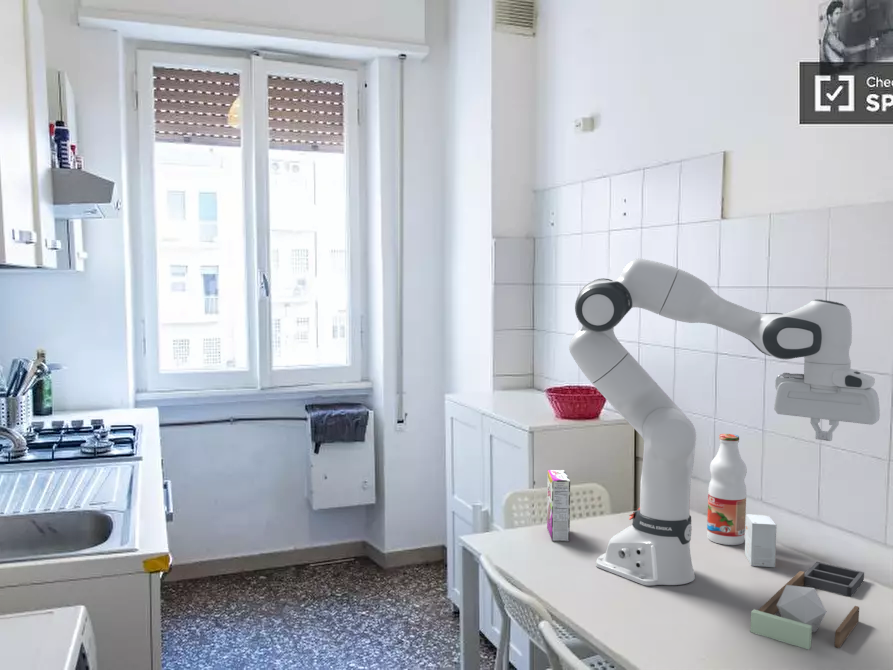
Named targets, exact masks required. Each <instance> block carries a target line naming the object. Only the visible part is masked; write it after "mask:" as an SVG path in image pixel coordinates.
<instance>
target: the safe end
mask: <svg viewBox="0 0 893 670" xmlns="http://www.w3.org/2000/svg"><path fill="white" fill-rule="evenodd" d="M758 610H759V609H753V610H751V611H750V631H749V632H750V633H753V634H756V635H759V636H763V637H765V638H769V639H773V640H775V641H780V642H781V643H782V642H783V643H785V644H789V645H793V646H795V647H799V648H802V649H806V650H810V649H811V647H812V633H813V632H812V626H811V625H808V624H804V623H801V622H797V621H793V620H790V619H786V618H783V617H782V616H778V615H776V614H775V615H772V614H769V613H765V612H762V611H758Z"/></svg>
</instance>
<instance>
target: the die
mask: <svg viewBox="0 0 893 670" xmlns="http://www.w3.org/2000/svg"><path fill="white" fill-rule="evenodd" d="M777 608H778V610H779V611H778V613H779V614H780V617H783V618H786V619H790V620H793V621H797V622H801V623H804V624H808V625H811V626H812V633H817V632H818V631H817V630H818V629H819V627H820V625H821V623H822V622H823V620H824V617H825V616H826V613H827V610H826V608H825V606H824V604H823V601H822V600H821V598H820V596H819V594H818V592H817V590H816V588H814V587H810V586H803V587H800V586H792V585H786V587H785V589H784V591H783V593H782V595H781V597H780V599H779V601H778V603H777Z"/></svg>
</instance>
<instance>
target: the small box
mask: <svg viewBox="0 0 893 670" xmlns="http://www.w3.org/2000/svg"><path fill="white" fill-rule="evenodd" d="M776 549H777V524H776V523H775V521H774V520H773V519H772V517H771V516H770V515H764V514H751V513H746V517H745V539H744V556H745V557H746V559H747V561H748V562H749V564H750V566H751V567H764V568H776V559H777V558H776V555H777V551H776Z"/></svg>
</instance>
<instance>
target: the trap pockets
mask: <svg viewBox="0 0 893 670" xmlns="http://www.w3.org/2000/svg"><path fill="white" fill-rule="evenodd" d="M863 580H864V581H865V572H864V571H861V570H856V569H851V568H846V567H844V566H843V567H842V566H838V565H835V564H830V563H825V562H821V561H816V562H815V563H814V564H813V565H812V566H811V567H809V569H807V570H806V571H805V576H804V586H805V587H809V588H815V589H819V590H823V591H826V592H829V593H835V594H837V595H838V594H839V595H842V596H846V597H850V598H851V597H852V596H853V595H854V594H855V592H856V591H857V590H858V589H859V588H858V587H860V586H861V585H862V584H863V583H864V581H863ZM862 582H863V583H862ZM861 583H862V584H861Z"/></svg>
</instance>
